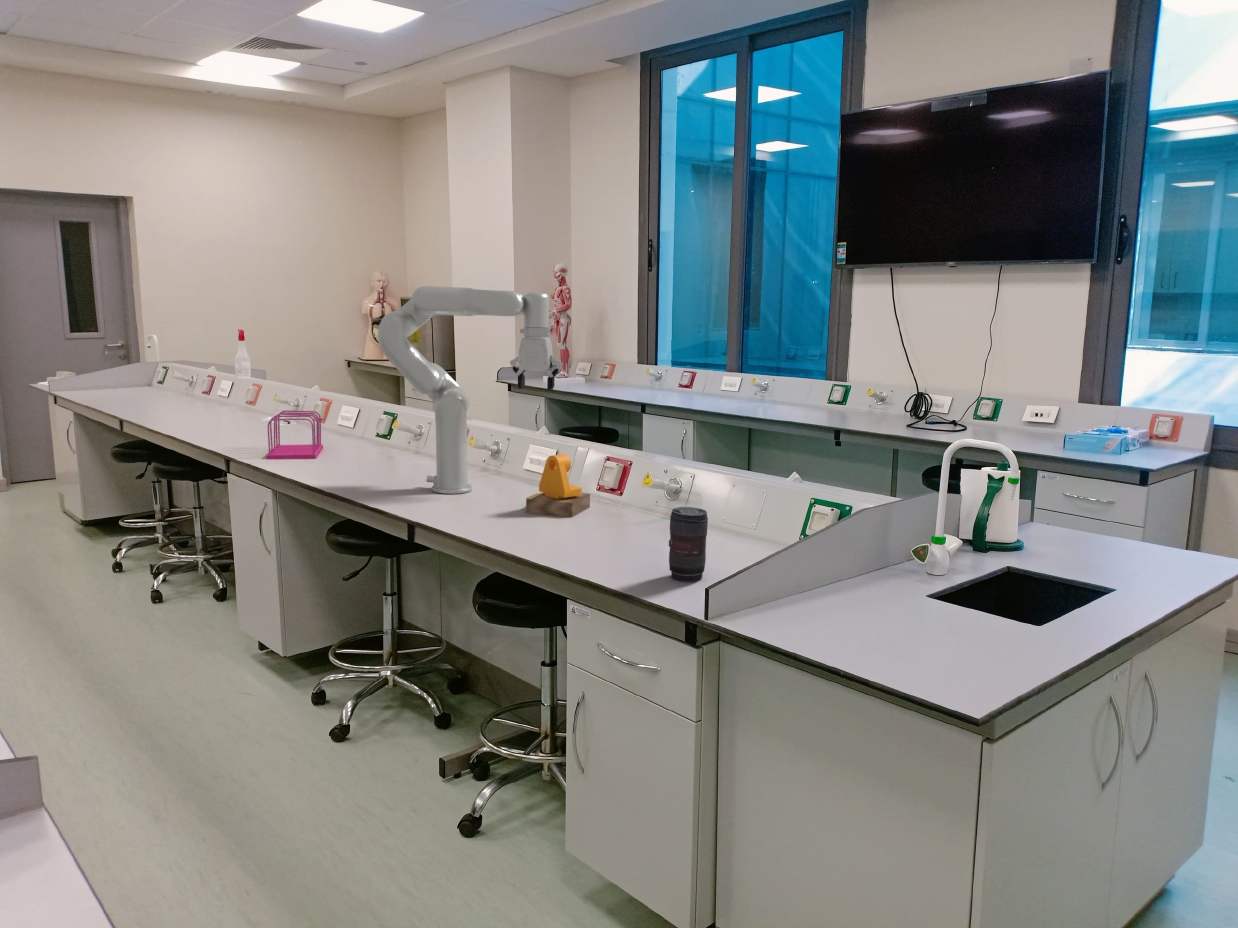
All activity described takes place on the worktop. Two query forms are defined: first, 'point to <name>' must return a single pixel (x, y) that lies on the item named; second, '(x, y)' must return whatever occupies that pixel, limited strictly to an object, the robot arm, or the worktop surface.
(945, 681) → the worktop surface
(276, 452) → the file sorter
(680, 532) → the camera lens
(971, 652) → the worktop surface
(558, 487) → the bracket
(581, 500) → the dock
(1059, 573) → the worktop surface
